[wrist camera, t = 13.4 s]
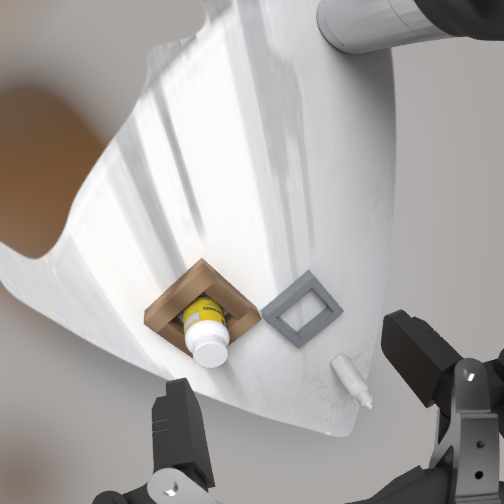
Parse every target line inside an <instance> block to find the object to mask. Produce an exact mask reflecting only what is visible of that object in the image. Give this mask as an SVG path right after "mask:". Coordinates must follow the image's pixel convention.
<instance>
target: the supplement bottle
mask: <svg viewBox="0 0 504 504" xmlns="http://www.w3.org/2000/svg"><path fill="white" fill-rule="evenodd" d="M183 323H184V334H185V343H186V346H187V348H188V350H189V351H190V352H191V353H192V354H193V359H194V361H195V362H196V363H197V364H198V365H199V366H201V367H204V368H214V367H218V366H220V365H222V364H223V363H224V362H225V361H226V359H227V357H228V350H227V346H228V344H229V340H230V337H229V332H228V328H227V325H226V321H225V318H224V314H223V311H222V307H221V306H220V305H219V304H218V303H217V302H216V301H214V300H213V299H212V298H211V297H210V296H209V295H207V294H200V295H199V296H198V297H197V298H196V299H194V300H193V301H192V302H191V303H190V304H189V305H188V306H186V307H185V308H184V309H183Z"/></svg>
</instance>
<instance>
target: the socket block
mask: <svg viewBox="0 0 504 504" xmlns="http://www.w3.org/2000/svg"><path fill="white" fill-rule="evenodd" d="M203 291H204V292H205V293H206V294H207V295H209V296H210V297H211V298H212V299H213V300H214V301H216V302H217V303H218V304H219V305H220V306H222V307H223V308H224V309H225V310H226V311H228V312H229V313H228V314H227V315H226V316H224V318H225V321H226V325H227V328H228V332H229V337H230V340H229V344H228V346H229V345H230V344H231V343H232V342H234V341H235V340H236V339H237V338H239V337H240V336H241V335H242V334H244V333H245V332H246V331H247V330H249V329H250V328H251V327H252V326H254V325H255V324H256V323H257V322H259V321H260V320H261V317H260V315H259V312H258V310H257V308H256V306H255V305H253V304H252V303H251V302H250V301H249V300H248V299H247V298H246V297H244V296H243V295H242V294H241V293H240V292H239V291H238V290H237V289H236V288H234V287H233V286H232V285H231V284H230V283H229V282H228V281H227V280H226V279H224V278H223V277H222V276H221V275H220V274H219V273H218V272H217V271H216V270H215V269H214V268H212V267H211V266H210V265H209V264H208V263H207V262H206V261H205V260H204V259H203V258H201V259H200V260H199V261H198V262H197V263H196V264H195V265H193V266H192V267H191V268H190V269H189V270H188V271H187V272H186V273H185V274H184V275H183V276H181V277H180V278H179V279H178V280H177V281H176V282H175V283H174V284H173V285H172V286H171V287H170V288H169V289H167V290H166V291H165V292H164V293H163V294H162V295H161V296H160V297H159V298H158V299H157V300H156V301H155V302H154V303H153V304H151V305H150V306H149V307H148V308H147V309H146V310H145V315H144V324H145V325H146V326H147V327H149V328H150V329H152V330H153V331H154V332H156V333H157V334H158V335H160V336H161V337H163V338H164V339H166V340H167V341H168V342H170V343H171V344H173V345H174V346H176V347H177V348H179V349H180V350H181V351H183V352H184V353H186V354H187V355H189V356H190V357H192V358H193V354H192V353H191V352H190V351H189V350H188V348H187V346H186V343H185V334H184V323H183V322H182V321H181V320H179V319H178V318H177V317H175V316H176V315H177V314H179V313H180V312H181V311H182V310H183V309H184V308H185V307H186V306H188V305H189V304H190V303H191V302H192V301H193V300H194V299H196V298H197V297H198V296H199V295H200V294H201V293H202V292H203Z"/></svg>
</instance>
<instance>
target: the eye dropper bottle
mask: <svg viewBox="0 0 504 504" xmlns="http://www.w3.org/2000/svg"><path fill="white" fill-rule="evenodd" d="M331 365H332V367H333V369H334V371H335V372H336V374H337V375H338V377H339V379H340V380H341V382H342V383H343V385H344V387H345V388H346V390H347V392H348V393H349V394H350V395H351V396H352V397H353V398H356V399H357V401H358V403H359V404H360V406H361V407H367V408H368V409H369V410H371V409H373V406H372V404H371V403H372V402H373V397H372V396H371V394H370V393H369V386H368V384H367V383H366V381H365V380H364V378H363V377H362V375H361V374H360V372H359V371H358V370H357V368H356V367H355V365H354V364H353V362H352V361H351V360H350V358H349V357H347V356H345V355H338V356H337V357H335V358H334V359H333V360H332V361H331Z"/></svg>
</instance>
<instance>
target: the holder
mask: <svg viewBox="0 0 504 504" xmlns="http://www.w3.org/2000/svg"><path fill="white" fill-rule="evenodd" d="M311 288H313V289H314V290H315V291H316V292H317V293H318V294H319V296H320V297H321V298H322V299H323V300H324V301H325V302H326V303H327V305H328V307H327V308H325V309H324V310H323V311H322V312H321V313H319V314H318V315H317V316H316V317H315V318H313V319H312V320H311V321H310V322H309V323H307V324H306V325H305V326H304V327H303V328H301V329H300V330H299V331H298V332H296V331H294V330H293V329H292V328H291V327H290V326H289V325H288V324H287V323H286V322H284V321H283V320H282V319H281V318H280V317H279V315H280V314H281V313H282V312H283V311H285V310H286V309H287V308H288V307H289V306H291V305H292V304H293V303H294V302H295V301H297V300H298V299H299V298H300V297H301V296H303V295H304V294H305V293H306V292H307V291H308V290H310V289H311ZM343 312H344V311H343V309H342V308H341V307H340V306H339V305H338V303H337V302H336V301H335V300H334V299H333V298H332V296H331V295H330V294H329V293H328V292H327V291H326V289H325V288H324V287H323V286H322V285H321V283H320V282H319V281H318V280H317V279H316V278H315V277H314V275H313V274H312V273H311V272H310V271H309V270H308V271H307V272H306V273H304V274H303V275H302V276H301V277H300V278H299V279H297V280H296V281H295V282H294V283H293V284H292V285H290V286H289V287H288V288H287V289H286V290H285V291H283V292H282V293H281V294H280V295H279V296H277V297H276V298H275V299H274V300H273V301H272V302H270V303H269V304H268V305H267V306H266V307H264V308H263V309H262V310H261V313H262V315H263V317H264V319H265V320H266V321H267V322H268V323H270V324H271V325H272V326H273V327H274V328H275V329H277V330H278V331H279V332H280V333H281V334H282V335H284V336H285V337H286V338H287V339H288V340H290V341H291V342H292V343H293V344H294V345H295V346H297V347H298V348H300V347H302V346H303V345H304V344H305V343H307V342H308V341H309V340H310V339H312V338H313V337H314V336H315V335H317V334H318V333H319V332H320V331H321V330H323V329H324V328H325V327H326V326H327V325H329V324H330V323H331V322H332V321H333V320H335V319H336V318H337V317H338V316H339V315H341V314H342V313H343Z"/></svg>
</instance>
